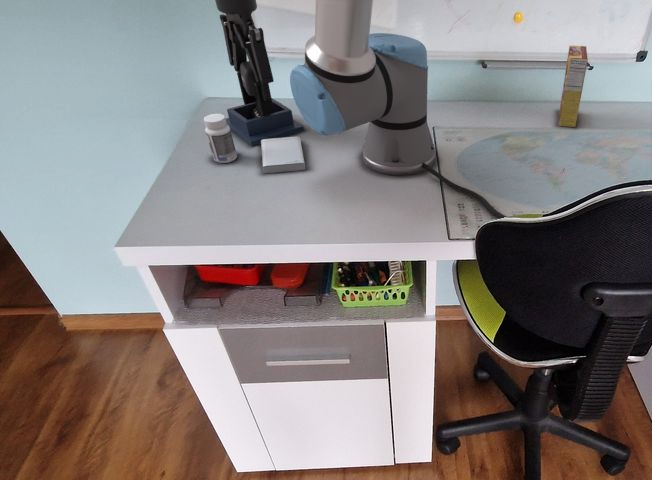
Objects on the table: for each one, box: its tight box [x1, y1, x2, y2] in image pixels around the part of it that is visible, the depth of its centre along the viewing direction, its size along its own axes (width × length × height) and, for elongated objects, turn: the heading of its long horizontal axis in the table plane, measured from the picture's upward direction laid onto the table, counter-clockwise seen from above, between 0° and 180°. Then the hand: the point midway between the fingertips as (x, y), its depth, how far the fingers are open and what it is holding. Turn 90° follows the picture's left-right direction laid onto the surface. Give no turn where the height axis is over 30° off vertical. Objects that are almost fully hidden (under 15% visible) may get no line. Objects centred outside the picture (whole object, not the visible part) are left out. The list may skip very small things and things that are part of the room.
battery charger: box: [240, 60, 262, 118], centre depth 117 cm, size 7×4×11 cm, turn 26°
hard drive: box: [260, 136, 306, 174], centre depth 112 cm, size 2×8×12 cm
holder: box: [225, 97, 305, 147], centre depth 121 cm, size 14×13×4 cm
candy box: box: [558, 44, 589, 128], centre depth 126 cm, size 9×4×15 cm, turn 171°
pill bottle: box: [203, 113, 238, 164], centre depth 109 cm, size 5×5×8 cm
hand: (259, 108), depth 119 cm, fingers closed on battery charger, 7 cm apart
